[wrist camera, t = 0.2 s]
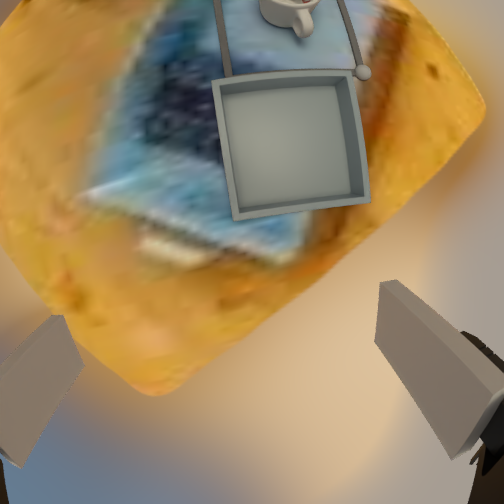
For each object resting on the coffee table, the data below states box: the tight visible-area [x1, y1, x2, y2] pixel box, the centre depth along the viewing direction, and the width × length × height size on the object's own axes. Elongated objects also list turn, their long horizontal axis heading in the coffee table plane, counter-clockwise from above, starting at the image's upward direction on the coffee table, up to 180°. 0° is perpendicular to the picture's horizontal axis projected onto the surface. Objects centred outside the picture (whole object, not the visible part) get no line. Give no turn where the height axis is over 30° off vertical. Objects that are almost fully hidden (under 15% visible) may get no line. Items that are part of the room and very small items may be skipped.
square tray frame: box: [213, 0, 371, 80], centre depth 28 cm, size 21×21×2 cm
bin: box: [211, 70, 371, 221], centre depth 32 cm, size 17×17×5 cm
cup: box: [259, 0, 320, 38], centre depth 25 cm, size 11×8×8 cm
